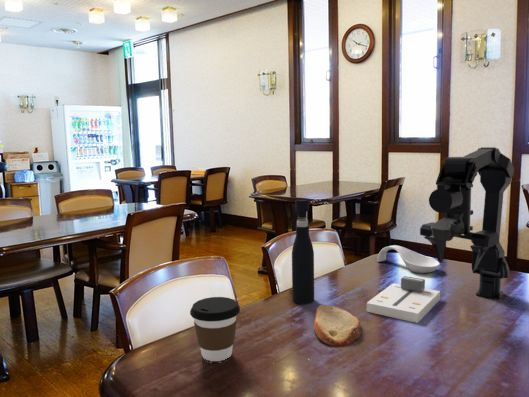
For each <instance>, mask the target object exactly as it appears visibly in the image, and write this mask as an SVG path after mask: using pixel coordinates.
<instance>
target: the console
mask: <svg viewBox="0 0 529 397" xmlns="http://www.w3.org/2000/svg"><path fill="white" fill-rule="evenodd" d="M440 300H441V291H440V290H435V289H430V288H429V289H428V288H425V289H424V290H423V291H422V292H417V291H412V290H406V289H401V283H400V284H399V283H395V282H393V283H391V284H390V285H389V286H387V287H386V288H384V289H383V290H382V291H381V292H379V293H378V294H377V295H375V296H373V297H372V298H371V299H370V300H368V301H367V302H366V310H365V311H366V312H367V313H370V314H375V315H376V314H377V315H381V316H385V317H390V318H394V319H398V320H403V321H407V322H411V323H417V324H418V323H419V322H420V321H421V320H423V318H424V317H425V316H426V315H427V314H428V313H429V312H430V311H431V310H432V309H433V308H434V306H436V304H437V303H438V302H439V301H440Z"/></svg>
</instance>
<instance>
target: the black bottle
mask: <svg viewBox="0 0 529 397" xmlns="http://www.w3.org/2000/svg"><path fill="white" fill-rule="evenodd" d="M294 205H295V206H294V207H295V212H296V213H297V220H296V226H295V238H294V242H293V244H292V250H291V287H292V292H291V294H292V296H291V297H292V302H293V303H295V304H299V305H311V304H312V303H314V302H315V252H314V247H313V242H312V240H311V236H310V225H309V221H308V215H307V214H308V212H310V200H309V199H306V198H298V199H295V204H294Z"/></svg>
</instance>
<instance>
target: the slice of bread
mask: <svg viewBox="0 0 529 397" xmlns="http://www.w3.org/2000/svg"><path fill="white" fill-rule="evenodd" d="M313 331H314V333H315V335H316V336H317V338H318V339H319V340H320V341H322V342H323V343H325V344H326V345H329V346H331V347H334V348H339V347H347V346H350V345H352V343H353V342H354V341H357V340H358V339H359V338H360V336H361V333H362V332H361V325H360V320H359V319H358V317H356V316H354V315H352V313H350V312H349V311H347V310H345V309H343V308H341V307H337V306H332V305H325V304H321V305H318V307H317V308H316V310H315V314H314V321H313Z"/></svg>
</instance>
